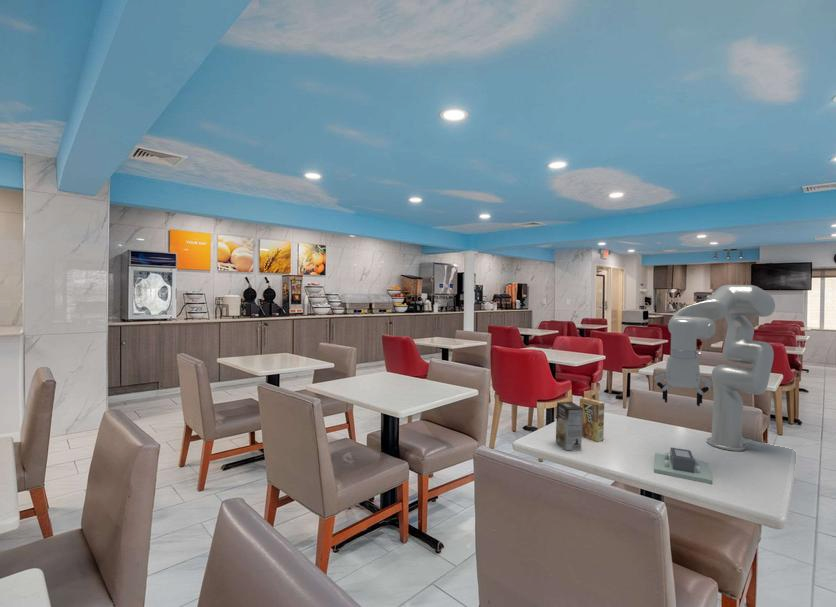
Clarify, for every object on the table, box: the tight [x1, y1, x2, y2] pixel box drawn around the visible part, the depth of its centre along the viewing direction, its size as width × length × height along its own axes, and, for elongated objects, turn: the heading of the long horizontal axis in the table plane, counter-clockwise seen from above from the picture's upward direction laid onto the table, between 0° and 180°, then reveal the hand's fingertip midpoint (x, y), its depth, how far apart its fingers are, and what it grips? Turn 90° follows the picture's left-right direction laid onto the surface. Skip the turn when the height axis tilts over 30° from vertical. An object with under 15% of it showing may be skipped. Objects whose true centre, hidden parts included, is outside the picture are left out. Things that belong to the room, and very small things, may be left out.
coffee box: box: [555, 401, 583, 451], centre depth 166 cm, size 9×6×16 cm
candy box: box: [579, 397, 605, 442], centre depth 176 cm, size 9×4×15 cm, turn 33°
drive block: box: [669, 447, 695, 473], centre depth 147 cm, size 6×10×4 cm, turn 155°
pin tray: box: [653, 452, 713, 485], centre depth 147 cm, size 16×16×3 cm
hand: (681, 403), depth 152 cm, fingers open, 9 cm apart
